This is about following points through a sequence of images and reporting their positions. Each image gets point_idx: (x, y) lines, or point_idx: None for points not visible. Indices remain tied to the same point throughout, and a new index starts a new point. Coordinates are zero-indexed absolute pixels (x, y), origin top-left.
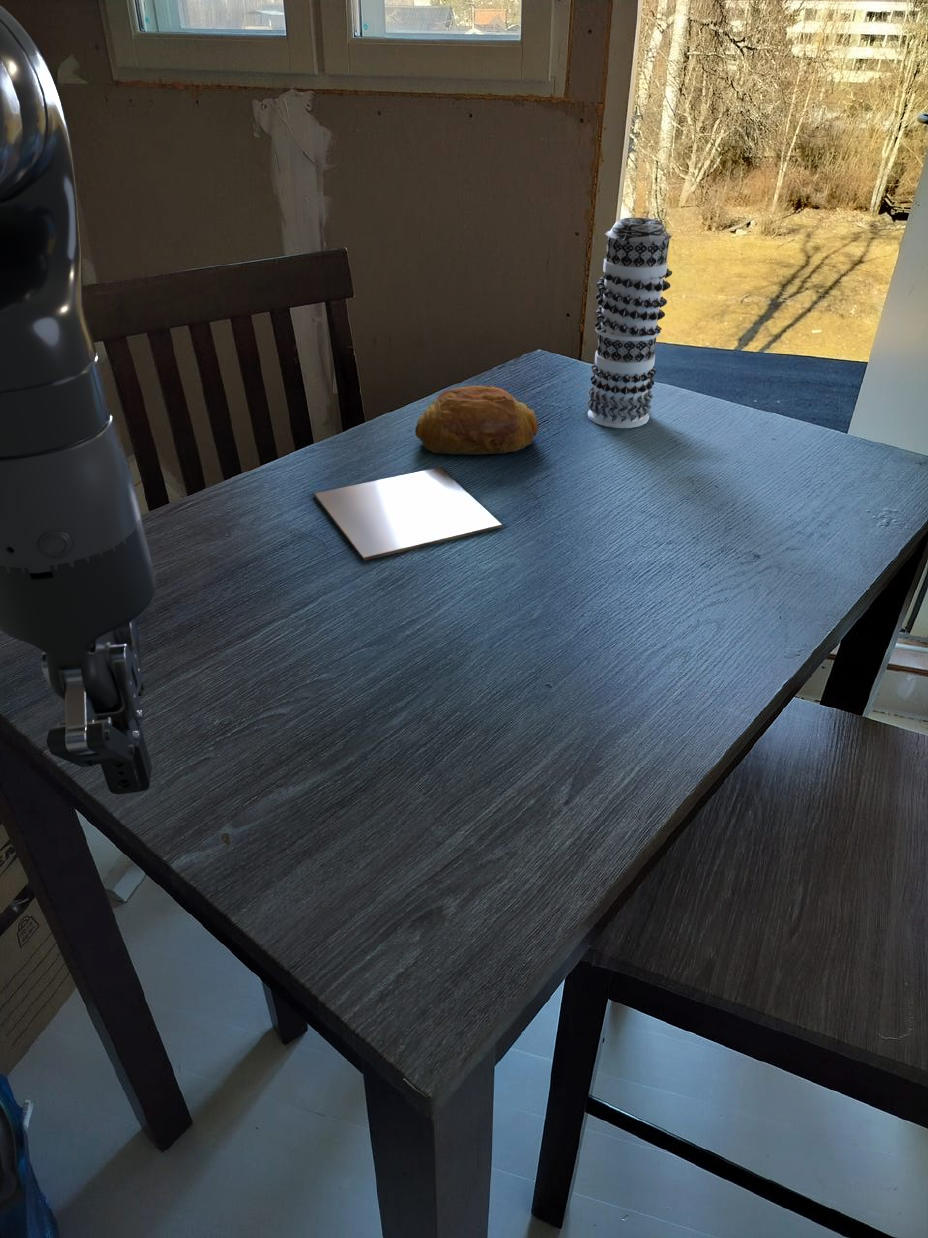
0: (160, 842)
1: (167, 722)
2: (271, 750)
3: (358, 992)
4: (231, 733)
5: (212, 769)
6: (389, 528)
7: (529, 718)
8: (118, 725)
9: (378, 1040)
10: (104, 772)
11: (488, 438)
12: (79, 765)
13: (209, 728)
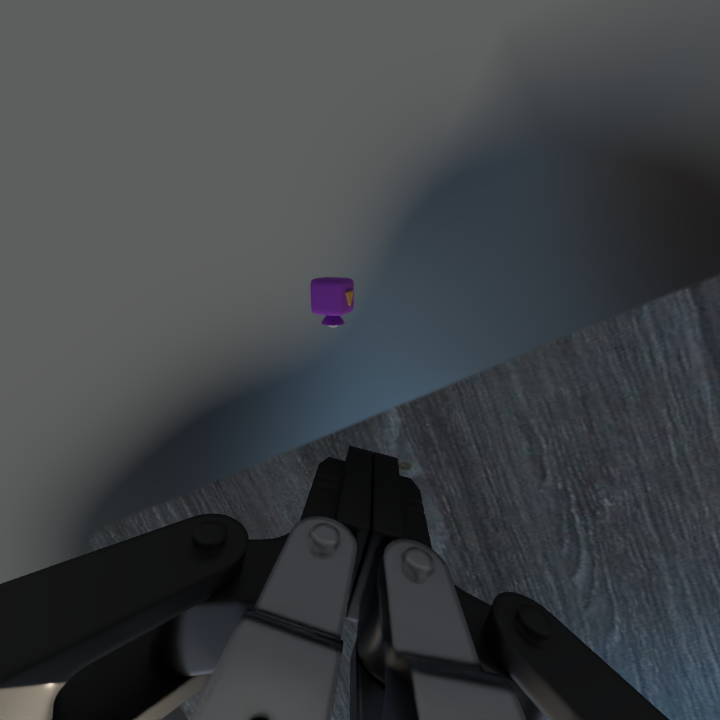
0: (432, 400)
1: (645, 447)
2: (515, 545)
3: (171, 522)
4: (573, 513)
5: (521, 478)
6: None
7: None
8: (364, 611)
9: (124, 521)
10: (344, 474)
11: None
12: (146, 536)
13: (599, 492)
